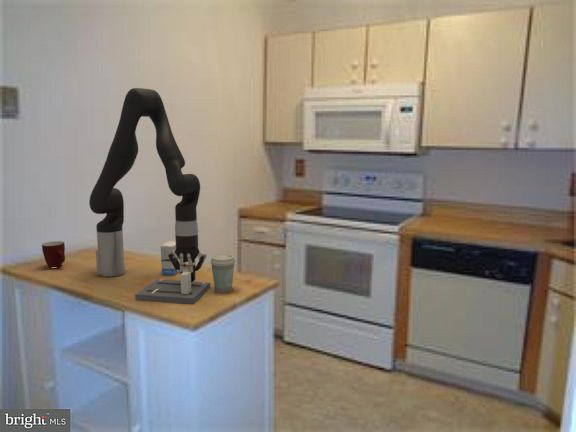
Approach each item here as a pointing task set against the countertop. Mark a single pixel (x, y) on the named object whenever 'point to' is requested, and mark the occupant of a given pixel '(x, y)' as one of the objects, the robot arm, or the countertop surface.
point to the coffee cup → (223, 272)
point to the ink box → (165, 261)
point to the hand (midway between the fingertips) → (188, 281)
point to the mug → (54, 253)
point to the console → (172, 292)
